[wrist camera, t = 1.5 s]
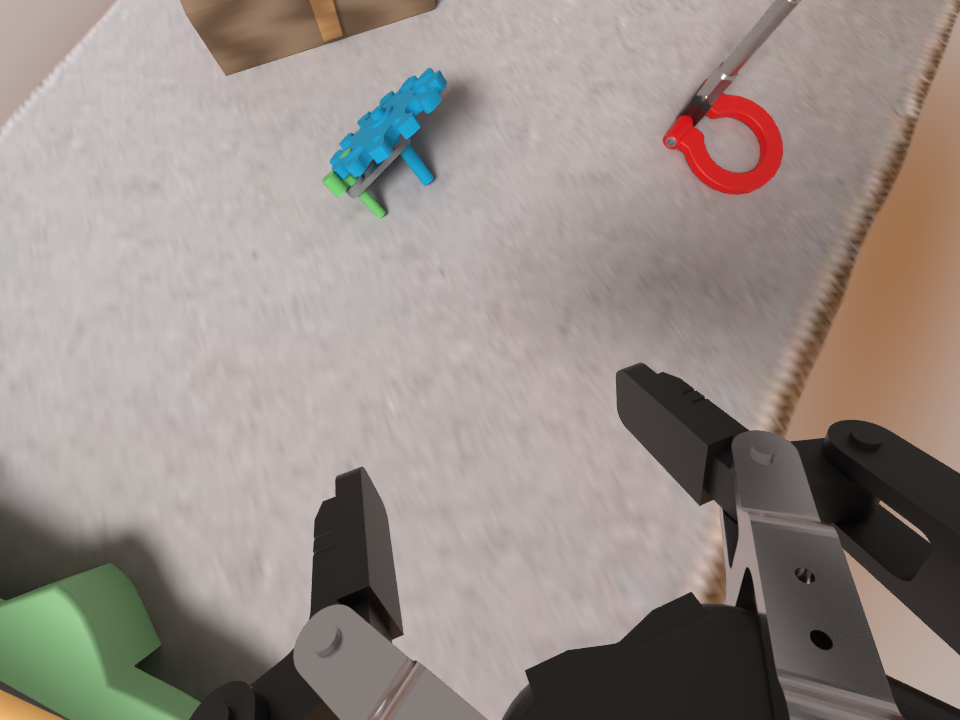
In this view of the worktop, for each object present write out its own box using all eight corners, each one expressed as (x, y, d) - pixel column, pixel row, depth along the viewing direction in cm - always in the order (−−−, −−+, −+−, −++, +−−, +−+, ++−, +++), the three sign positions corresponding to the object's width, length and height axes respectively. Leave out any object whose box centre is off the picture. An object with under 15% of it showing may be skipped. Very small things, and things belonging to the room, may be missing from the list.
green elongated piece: (339, 677, 27) (298, 769, 20) (254, 849, 26) (176, 1017, 18) (-89, 459, 28) (-282, 472, 20) (-200, 614, 26) (-453, 688, 19)
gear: (401, 64, 32) (458, 51, 25) (445, 132, 36) (507, 138, 29) (301, 166, 32) (329, 183, 25) (357, 223, 36) (395, 252, 29)
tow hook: (789, 144, 36) (703, 80, 36) (983, -3, 23) (849, -104, 23) (741, 216, 34) (652, 150, 34) (919, 103, 22) (777, -2, 22)
